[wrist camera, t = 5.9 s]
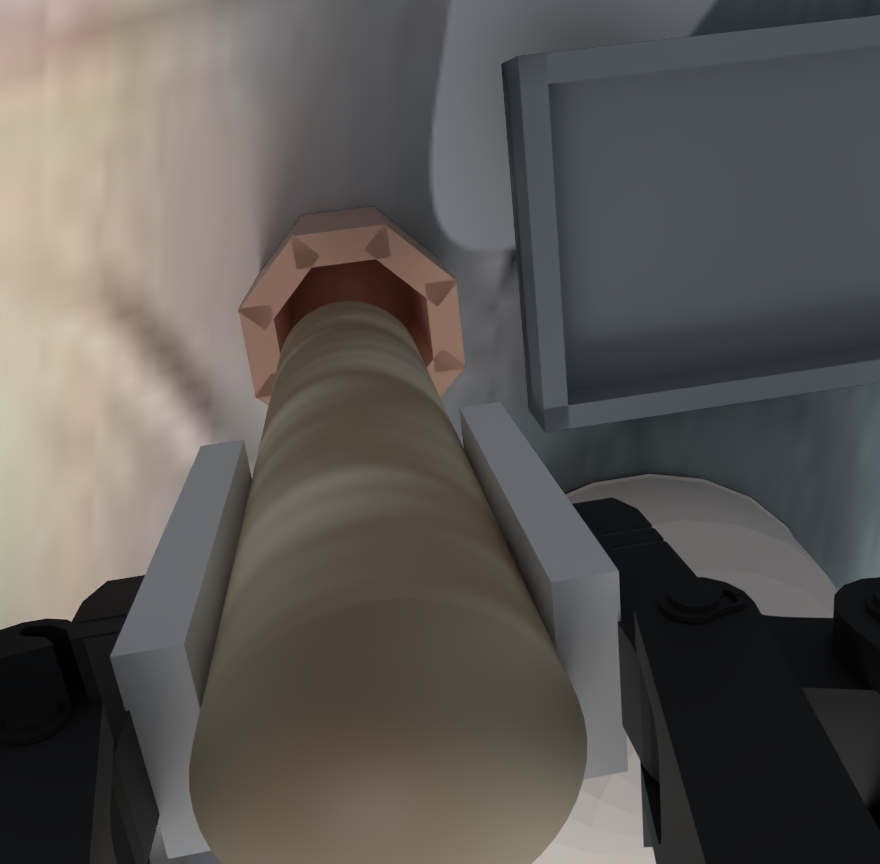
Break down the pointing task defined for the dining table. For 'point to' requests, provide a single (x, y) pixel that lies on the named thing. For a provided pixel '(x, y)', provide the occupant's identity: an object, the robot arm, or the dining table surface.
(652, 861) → the kettle
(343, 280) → the pink octagonal cup
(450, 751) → the peg
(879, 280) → the tray
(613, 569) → the robot arm
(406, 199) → the dining table surface
